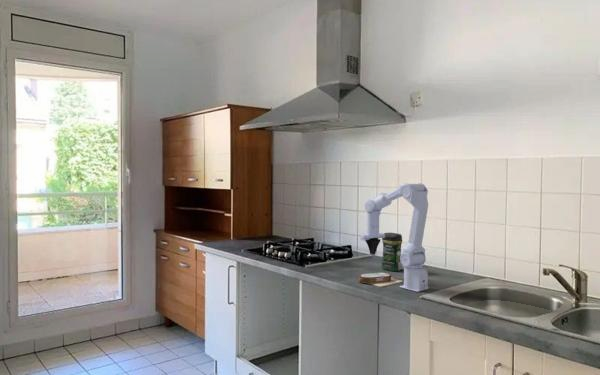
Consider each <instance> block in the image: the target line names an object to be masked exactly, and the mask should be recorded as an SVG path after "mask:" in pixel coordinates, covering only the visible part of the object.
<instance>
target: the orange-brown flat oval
mask: <svg viewBox="0 0 600 375" xmlns="http://www.w3.org/2000/svg"><path fill="white" fill-rule="evenodd" d="M391 278H392V274H389V273H387V272H367V273H361V274H359V277H358V281H359V283H363V284H367V283H382V282H390V281H391Z"/></svg>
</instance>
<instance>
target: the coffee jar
mask: <svg viewBox="0 0 600 375" xmlns="http://www.w3.org/2000/svg"><path fill="white" fill-rule="evenodd" d="M383 234H385V238H381V242H382V246H383V247H382V248H383V250H382V258H381V268H382V270H386V271H391V272H399V271H401V270H402V269H403V268H402V267H403V265H402V264H401V261H400V256H401V254H402V245H403V237H402V236H403V235H402V234H401V233H395V232H384V233H383Z"/></svg>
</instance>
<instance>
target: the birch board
mask: <svg viewBox="0 0 600 375" xmlns="http://www.w3.org/2000/svg"><path fill="white" fill-rule="evenodd" d="M400 283H404V280H401V279H398V278H392V277H391V281H390V282H382V283H366V284H368V285H371V286H375V287H379V288H383V287H388V286H391V285H392V286H393V285H395V284H400Z"/></svg>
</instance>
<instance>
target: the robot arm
mask: <svg viewBox="0 0 600 375" xmlns="http://www.w3.org/2000/svg"><path fill="white" fill-rule="evenodd" d="M428 192H429V190H428V187H426V185H425V183H424V184H423V183H404V184H402V185H400V186H399V187H397V188H396V189H394V190H393V191H391V192H390V193H386V192H381V193H380V195H379V196H374V197H373V198H372V199H367V200H366V201H365V202H364V205H363V206H364V210H365V211H366V233H364V234H363V235H360V241H363V242H364V241H365V243H366V244H367V247H368V251H369V254H370V255H372V256H375V255H376V253H377V249H378V247H379V244H380V243H381V239H382V238H385V234H384V233H380V216H381V212H382V209H385V208H386V207H388V206H390V205H391V204H392V201H393V200H397V199H399V198H401V197H402V198H403V199H404V200H405V201H407V202H408V203H409V204H410V205H411V206H413V212H412V217H411V224H410V230H409V234H408V235H409V236H408V242H407V244H406V245H405V246H404V247H403V250H402V252H401V256H400V261H401V264H402V267H403V284H402V285H399V288H401V289H406V290H409V291H413V292H422V291H425V290H426V291H427V290H429V289H430V288H429V272H428V271H427V270H426V269H425V268H423V266H424V265H425V263H426V260H427V258H426V257H427V256H426V248H424V247H423V239H424V233H425V227H426V221H427V216H428V215H427V214H428V209H429V202H428Z"/></svg>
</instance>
